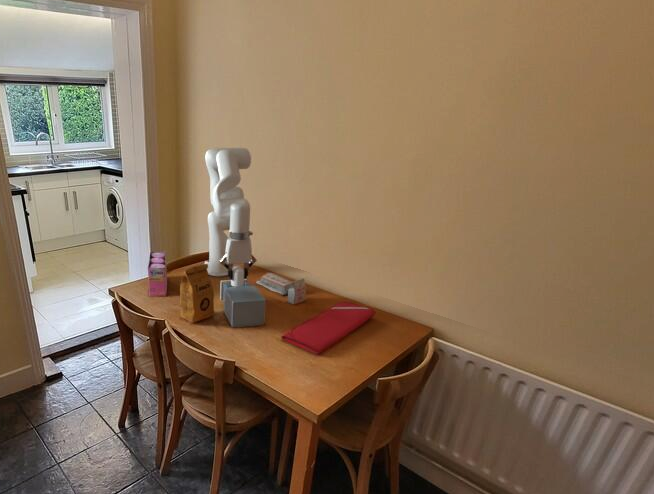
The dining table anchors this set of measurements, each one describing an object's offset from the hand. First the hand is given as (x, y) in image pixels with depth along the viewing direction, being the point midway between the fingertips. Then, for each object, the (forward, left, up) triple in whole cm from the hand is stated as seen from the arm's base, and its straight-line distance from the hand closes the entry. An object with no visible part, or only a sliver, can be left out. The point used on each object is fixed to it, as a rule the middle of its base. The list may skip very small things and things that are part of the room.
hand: (237, 277), depth 168 cm
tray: (-2, +2, -12) cm, 12 cm away
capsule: (0, 0, -3) cm, 3 cm away
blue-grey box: (+8, -7, -13) cm, 17 cm away
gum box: (-41, -3, -13) cm, 44 cm away
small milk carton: (+18, +20, -13) cm, 30 cm away
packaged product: (+4, +29, -13) cm, 32 cm away
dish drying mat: (+39, +5, -13) cm, 41 cm away
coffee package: (-7, -18, -13) cm, 23 cm away
